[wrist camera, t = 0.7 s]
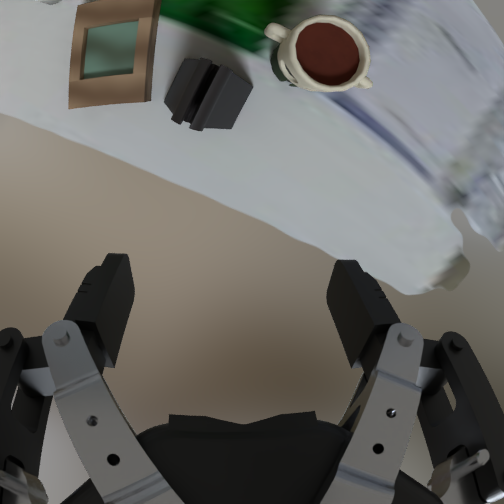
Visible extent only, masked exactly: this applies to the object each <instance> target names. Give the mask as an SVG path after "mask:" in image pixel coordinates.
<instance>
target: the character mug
mask: <svg viewBox="0 0 504 504" xmlns="http://www.w3.org/2000/svg"><path fill="white" fill-rule="evenodd" d="M264 33H265V35H266V36H267V37H269V38H271V39H273V40H275V41H277V42H279V43H280V45H279V46H278V47H277V48H276V49H275V50H274V51H273V55H272V58H271V65H272V70H273V73H274V74H275V75H276V76H277V78H278V79H279V80H280V81H282V82H283V81H286V80H287V81H289V82H291V83H292V84H290V85H289V86H294V87H300V88H302V89H306V90H309V91H321V92H334V91H345V90H347V89H349V88H351V87H354V86H355V87H357V88H366V89H369V88H371V87H372V86H373V82H372V81H371V80H370V79H369V78H368V77H366V75H367V72H368V69H369V66H370V62H371V59H370V50H369V46H368V44H367V42H366V40H365V38H364V36H363V34H362V33H361V32H360V31H359V30H358V29H357V28H356V27H355V26H354V25H353V24H352V23H351V22H349V21H347V20H344V19H342V18H340V17H337V16H334V15H317V16H314V17H311V18H309V19H306V20H303V21H302V22H300V23H299V24H298V25H297V26H296V27H294V28H293V29H292V30H290V29H288V28H286V27H284V26H282V25H279V24H277V23H270V24H269V25H268V26H267V27H266V28H265V32H264Z"/></svg>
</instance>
